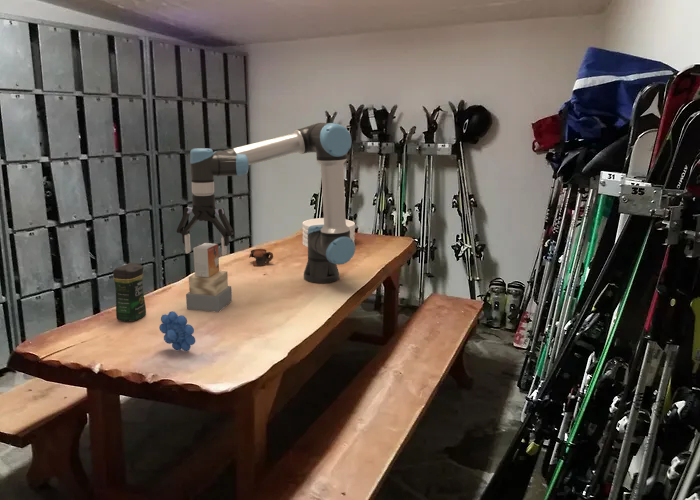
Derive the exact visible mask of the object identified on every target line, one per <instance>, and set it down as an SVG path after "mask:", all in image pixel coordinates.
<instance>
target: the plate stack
mask: <svg viewBox="0 0 700 500" xmlns="http://www.w3.org/2000/svg"><path fill="white" fill-rule="evenodd" d="M313 225H324V217H319V218H318V217H316V218H310V219H306V220H304V221H302V245H303V246H304V247H307V248H308V235H307V234H308V228H309V227H310V226H313ZM346 225H347V226H348V227H349V228H350V238H351V239H352V240H353V242H354V244H355V239H356V238H355V234H356V232H355V229H356V223H355V221H353V220H349V219H346ZM355 245H356V244H355Z"/></svg>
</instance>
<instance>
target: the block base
mask: <svg viewBox="0 0 700 500" xmlns="http://www.w3.org/2000/svg"><path fill="white" fill-rule="evenodd" d="M232 293H233V292H232V285H231V286H230V285H228V287H227V288H226V289H225V290H223V291H222V292H220V293H219V294H218V295H216V296H213V295H202V294H192V293H190V291H188V292H186V293H185V298H186V299H185V301H186V310H190V311H200V312H202V311H203V312H211V311H215V312H216V313H220V312H221V311H222V310H223V309H224V308H225V307H227V306H228V305H229V304H230V303H231V302H233V295H232ZM226 305H227V306H226ZM220 310H221V311H220ZM219 311H220V312H219ZM215 312H214V313H215Z"/></svg>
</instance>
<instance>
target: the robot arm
mask: <svg viewBox="0 0 700 500" xmlns="http://www.w3.org/2000/svg"><path fill="white" fill-rule="evenodd" d="M351 147H352V136H351V133H350V132H349V130H348V129H347V128H346V127H345V126H344V125H342V124H338V123H335V122H317V123H313V124H311V125H308V126H305V127H302V128H301V127H300V128H298V129H295V130H294V131H293V133H289V134H285V135H280V136H277V137H274V138H269V139H264V140H261V141H257V142H253V143H249V144H245V145H240V146H237V147H233V148H230V149H229V148H228V149H225V150H216V151H213V149H212V148H205V147H204V148H203V147H202V148H201V147H199V148H197V147H195V148H192V149H191V150H190V153H189V155H190V156H189V160H190V161H189V164H190V176H191V177H190V178H191V193H192V194H193V195H192V196H191V197H192V198H191V199H192V207H190V206H189V205H188V206H187V207H184V208H183V214H182V217H181V219H180V222H179V224H178V226H177V228H176V233H178V234H181V235H182V236H181V238H182V244H183V245H184V250H185V254H189V253H191V252H192V249H191V248H192V247H191V234H190V233H189V232H190V230H192V228H193V227H194V225H196V223H197V221H199V222H203V221H204V222H210V223H212V225H214V227H215V228H216V229H217V231H219V233H220V234H221V235H222V236H221V239H220V240H221V241H220V242H221V256H223V257H224V256H226V255H228V246H230V238H229V237H230V236H233V235H234V234H235V231H234V229H233V227H232V226H231V224H230V222H229V220H228V218H227V216H226V214H225V213H226V212H225V208H223V207H221V208H217V209H216V207H215V206H216V196H215V194H214V193H215V177H232V176H236V177H239V176H245V175H247V174H248V172H249V167H250V165H255V164H259V163H263V162H266V161H271V160H274V159H278V158H282V157H286V156H290V155H293V154H298V153H299V154H300V155H303V154H308V153H316V154H315V155H316V161H317V163H318V164H320V173H321V188H322V189H321V191H322V194H321V195H322V209H323V218H324V225H313V226H310V227H309V228H308V234H307V235H308V247H307V262H306V265H305V268H304V271H303V279H304V280H305V281H307V282H310V283H313V284H314V283H316V284H330V283H334V282H337V281H339V280H340V271H339V268H338V265H339V266H340V265H344V264H347V263H349V262H350V261H351V259H352V258H353V257H354V255H355V253H356V244H354V242H355V241H354V242H353V240H352V239H351V238H350V228H349V227H348V226H347V225H346V220H347V218H346V198H345V195H346V194H345V171H344V164H345V163H346V162H347V160H348V152H349V151H350V150H351ZM191 213H192V214H193V215H194V216H192V217H191V220H190V221H189V222H188V224H187V221H188V220H189V218H190V214H191ZM216 214H217V216H218V217H219V219H220V221H221V222H220V221H219V220H218V218H217V216H216ZM186 224H187V225H186Z"/></svg>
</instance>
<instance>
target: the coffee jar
mask: <svg viewBox="0 0 700 500" xmlns="http://www.w3.org/2000/svg"><path fill="white" fill-rule="evenodd" d="M143 269H144V267H143V265H142V264H141V263H139V262H138V263H137V262H128V263H127V264H124V265H121V266H119V267H116V268H115V269H113V271H112V273H113V274H112V279H113V282H114V286H115V287H114V288H115V316H116V320H118V321H120V322H124V323H127V322H135V321H137V320H139V319H141V318H143V317H144V316H145V315H146V314H147V308H146V301H145V294H144V285H143V283H144V282H143V281H144V270H143Z"/></svg>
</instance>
